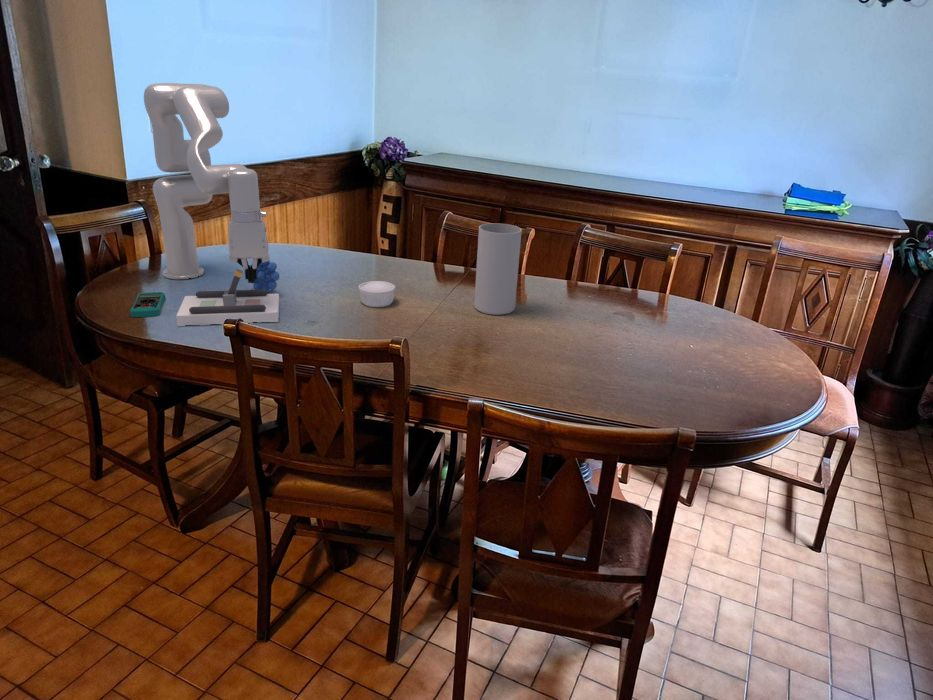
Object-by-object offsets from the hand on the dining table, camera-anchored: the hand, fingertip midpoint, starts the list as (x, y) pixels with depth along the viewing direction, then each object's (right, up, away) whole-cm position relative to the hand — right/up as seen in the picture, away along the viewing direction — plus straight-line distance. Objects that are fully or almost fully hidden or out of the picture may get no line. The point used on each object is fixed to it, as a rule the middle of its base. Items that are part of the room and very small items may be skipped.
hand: (251, 281), depth 182 cm
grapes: (-2, -2, +20) cm, 21 cm away
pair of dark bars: (-6, -6, +1) cm, 9 cm away
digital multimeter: (-31, -8, +4) cm, 32 cm away
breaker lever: (-7, -5, +1) cm, 9 cm away
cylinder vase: (+69, -7, +18) cm, 72 cm away
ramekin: (+33, -5, +18) cm, 38 cm away
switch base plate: (-7, -9, +2) cm, 11 cm away
